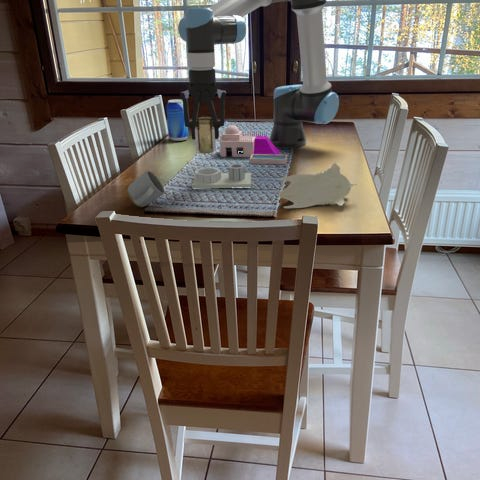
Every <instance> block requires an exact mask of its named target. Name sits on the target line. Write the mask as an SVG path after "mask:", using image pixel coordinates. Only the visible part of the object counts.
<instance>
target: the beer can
mask: <svg viewBox="0 0 480 480" xmlns="http://www.w3.org/2000/svg"><path fill="white" fill-rule="evenodd" d="M165 108H166V109H165V110H166V118H167V120H166V121H167V129H168V137H169V139H170V140H171V141H175V142H176V141H177V142H179V141H185V140H187V139H188V137H189V135H190V134H189V127H186V126H185V122H184V111H183V101H182V99H181V98H179V99H178V98H177V99H176V98H175V99H169V100H167V104H166V107H165Z"/></svg>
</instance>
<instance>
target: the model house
mask: <svg viewBox="0 0 480 480" xmlns="http://www.w3.org/2000/svg"><path fill="white" fill-rule="evenodd" d="M267 133H268V132H267V131H266V132H265V131H262V132H261V131H243V130H240V129H239V128H238V126H236V125H233V124H231V125H229V126H227V127H226V129H225V131H224V132H222V134H221V135H219V139H220V140H219V141H220V142H219V148H220V151H219V153H220V154H219V155H220V157H221V158H222V157H227V155H231V157H233V158H249V164H252V165H253V164H258V165H259V164H260V165H287V163H286V162H288V154H281V150H280V149H278V147H275V146H274V145H273V143H272V142H271V141H270V139H269V138H270V137H269V136H268V135H267ZM238 151H243V154H238ZM239 153H241V152H239ZM226 162H229V158H226Z"/></svg>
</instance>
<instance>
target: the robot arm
mask: <svg viewBox="0 0 480 480" xmlns="http://www.w3.org/2000/svg"><path fill="white" fill-rule="evenodd" d="M279 2H280V3H281V2H290V5H291V6H290V7H291V10H292V12H294V13H295V14H296V20H297V21H296V22H297V24H296V25H297V33H298V34H297V35H298V43H299V55H300V62H301V63H300V64H301V74H302V75H301V76H302V84H292V85H291V84H290V85H282V86H277V87H276V88H274V91H273V98H272V99H273V103H272V104H273V126H272V130H271V132H270V135H269V137H268V138H269V139H270V141H271V142H272V143H273V145H274V146H275V147H276V148H278V147H280V148H279V149H296V148H300V147H304V146H306V145H307V137H306V134H305V130H304V127H303V122H307V123H313V124H316V125H319V124H320V125H326V124H328V123H330V122H332V121H333V120H334V118H335V116H336V115H337V113H338V110H339V106H340V99H339V95H338V94H337V93H336V92H335V91H333V90H332V83H331V82H329V81H328V79H327V66H326V48H325V33H324V18H323V17H324V16H323V15H324V14H323V9H324V8H325V6H326V5H327V0H218V2H216V3H214V4H213V5H211V6H209V7H190V8H189V7H188V8H187V9H186V10H185V16H183V17H182V18H181V19H180V20H179V22H178V25H177V32H178V34H179V37H180V39H181V40H182V41H183V42H186V48H187V65H188V66H187V67H188V68H190V69H189V70H188V81H189V86H188V89H187V90H184V91H181V92H180V93H179V97H180V99H182V101H183V111H184V122H185V126H186V127H188V129H190V130H191V131H190V132H191V139H192V140H195V151H196V152H199V142H198V126H197V118H198V115H199V114H198V113H199V109H200V108H199V107H200V104H201V103H202V104H203V103H205V104H207V106H208V109H209V113H210V116H211V118H212V125H213V126H212V142H213V152H216V150H217V142H216V140H219V139H220V128H222V127H225V122H226V119H225V98H226V95H227V92H226V91H227V90H221V89H218V86H217V80H216V69H215V68H214V67H216V61H215V60H216V58H215V56H216V54H215V46H216V45H228V44H231V45H234V44H237V43H240V42H242V41H244V39H245V37H246V35H247V25H246V24H247V23H246V22H245V20H244V18H243V17H245V16H247V15H249V14H250V13H252V12H253V11H255V10H256V9H258V8H260V7H268V6H269V5H271V4H273V3H279ZM216 94H217V96H218V99H219V121H218V117H217V114H216V109H215V106H214V105H215V104H214V102H213V101H214V100H213V99H214V98H215V96H216ZM189 95H190V96H191V97H192V99H193V100H194V105H193V111H192V112H193V113H192V118H191V122H190V112H189V100H188V99H189ZM196 126H197V127H196Z"/></svg>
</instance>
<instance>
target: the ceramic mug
mask: <svg viewBox="0 0 480 480" xmlns="http://www.w3.org/2000/svg"><path fill="white" fill-rule="evenodd" d="M165 192H166V191H165V187H164V186H163V184H162V183H161V181H160V180H159V178H158V177H157V176H156V175H155V174H154V173H153V172H151V171H150V170H146V171H144V173H142V174H141V175H140V176H139V177H138V178H137V179H136V180H134V181H132V183H130V184H129V185H128V187H127V188H126V193H127V195H128V197H129V199H130V200H131V202H132V203H133V204H134V205H136V207H138V208H144V207H147V206H148V205H150V204H151V203H152V202H154V201H156V200H158V198H160V197H161V196H163V195H164V194H165Z"/></svg>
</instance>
